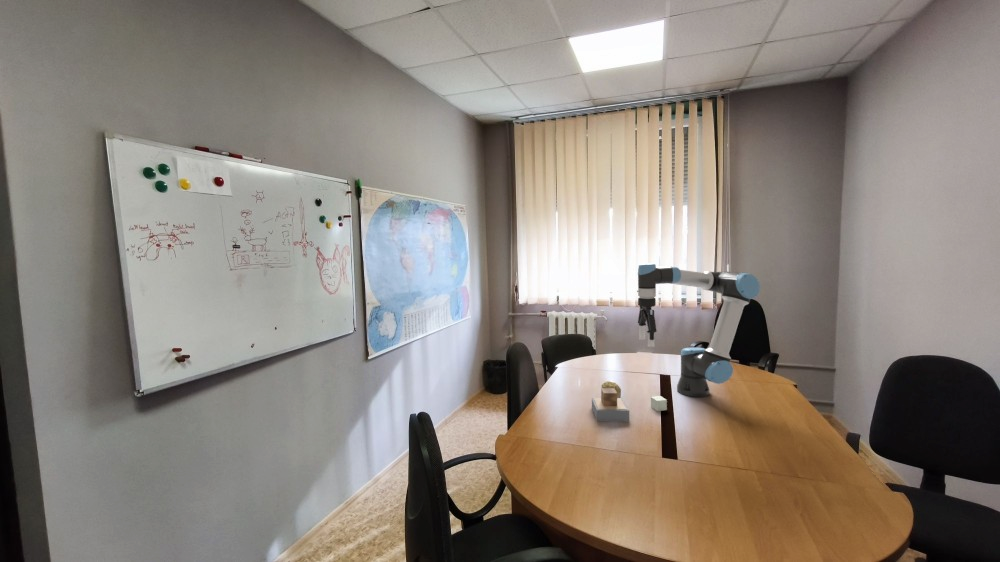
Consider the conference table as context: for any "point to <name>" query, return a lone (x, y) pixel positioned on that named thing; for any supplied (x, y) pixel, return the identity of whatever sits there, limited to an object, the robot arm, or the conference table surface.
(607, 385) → the decorative item
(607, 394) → the walnut cube
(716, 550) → the conference table surface
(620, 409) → the plinth
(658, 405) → the sage cube
